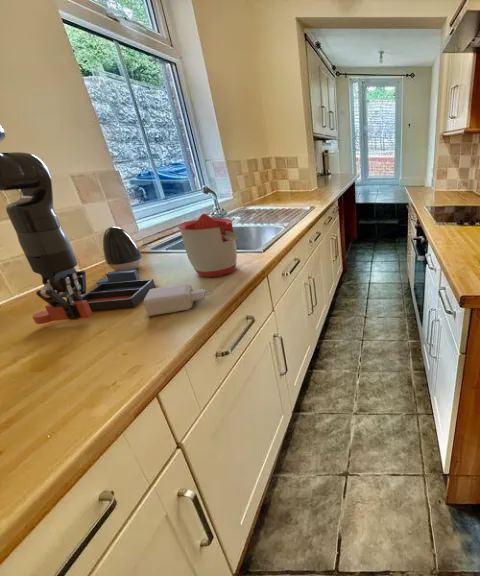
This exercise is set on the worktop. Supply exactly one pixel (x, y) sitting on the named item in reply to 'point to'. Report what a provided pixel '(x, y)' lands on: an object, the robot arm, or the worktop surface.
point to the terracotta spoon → (61, 313)
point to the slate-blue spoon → (119, 277)
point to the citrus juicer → (210, 245)
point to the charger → (172, 299)
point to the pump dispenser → (120, 250)
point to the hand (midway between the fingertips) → (78, 316)
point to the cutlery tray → (118, 294)
